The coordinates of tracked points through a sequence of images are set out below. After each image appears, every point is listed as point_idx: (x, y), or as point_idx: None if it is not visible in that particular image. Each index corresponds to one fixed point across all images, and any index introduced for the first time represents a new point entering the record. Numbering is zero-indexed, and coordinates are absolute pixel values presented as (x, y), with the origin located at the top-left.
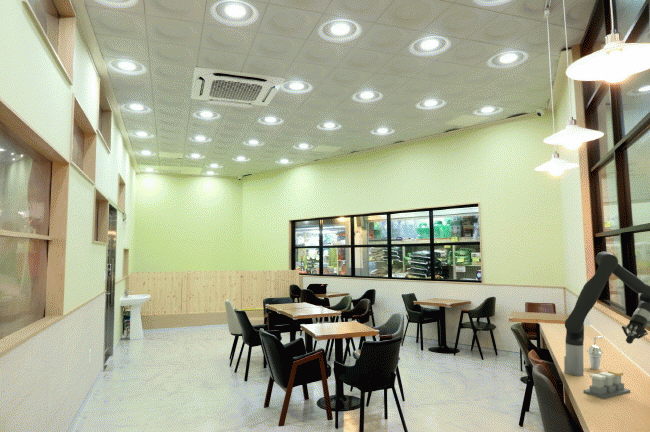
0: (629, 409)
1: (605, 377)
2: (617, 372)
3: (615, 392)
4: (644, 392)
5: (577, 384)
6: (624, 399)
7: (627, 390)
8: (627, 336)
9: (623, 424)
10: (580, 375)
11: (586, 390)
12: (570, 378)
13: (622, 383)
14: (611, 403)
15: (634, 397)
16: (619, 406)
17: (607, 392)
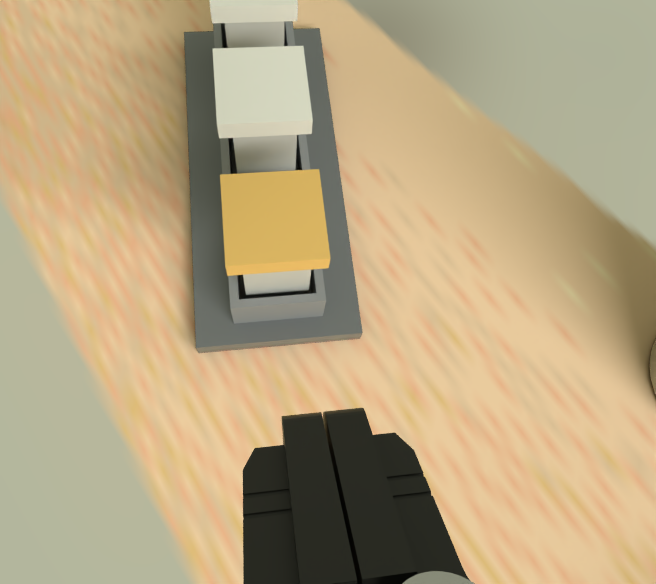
0: (5, 19)
1: (210, 9)
2: (253, 215)
3: (205, 176)
4: (147, 483)
5: (463, 149)
6: (122, 155)
7: (198, 311)
8: (457, 563)
9: None
10: (650, 366)
11: (308, 39)
12: (596, 226)
13: (236, 294)
14: (117, 19)
15: (113, 263)
16: (63, 14)
17: None
